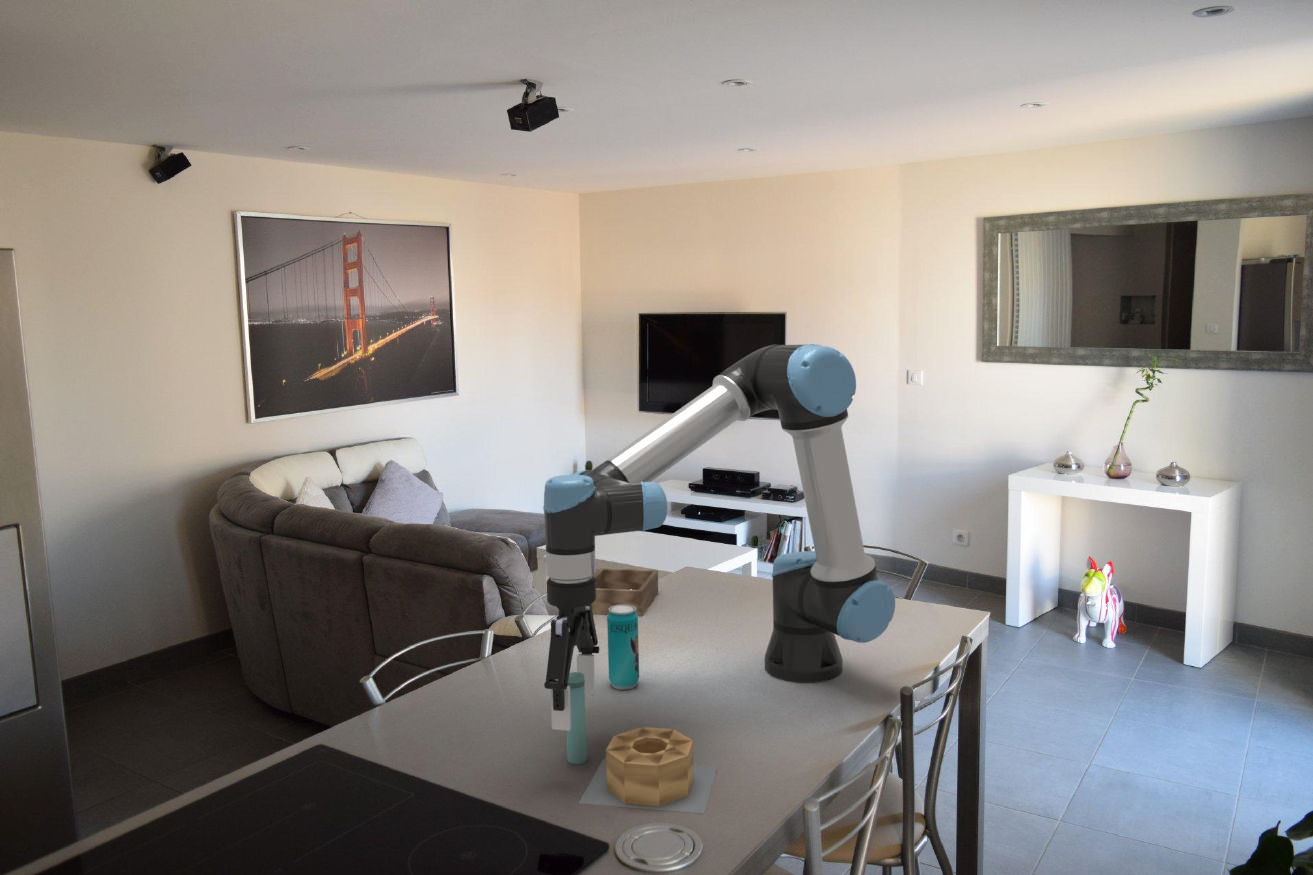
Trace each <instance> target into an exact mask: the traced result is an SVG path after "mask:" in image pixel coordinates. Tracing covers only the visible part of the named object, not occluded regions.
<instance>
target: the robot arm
mask: <svg viewBox="0 0 1313 875" xmlns="http://www.w3.org/2000/svg"><path fill="white" fill-rule="evenodd" d="M855 373H856V372H855V370H854V368H853V366H852V364H851V362H850V360H849V359H848V358H847V357H846V356H845V355H844V354H843V353H842V352H841V351H839V350H837V349H835V348H834V347H830V346H825V345H822V344H813V343H809V344H771V345H768V346H764V347H762V348H759V349H756V350H755V351H753V352H751V353H749V354H748V355H746V356H745V357H743V358H741V359H739V360H738V361H737V362H735V363H733V364H732V365H730V366H729V367H728V368H726V369H725V370H723V371H722V372H720V373H719V374H717V375H716V376H715V377H714V378H713V380H712V386H711V387H709V388H708V389H706V390H705V391H703V392H702V393H701V394H699V395H698V396H696V397H695V398H693V399H692V400H690V401H689V402H688V403H686V404H685V405H683V406H682V407H681V408H679V409H678V410H676V411H675V412H674V413H672V414H671V415H669V416H668V417H667V418H665V419H663V420H662V421H661V422H660V423H658V424H657V425H655V426H653V427H652V428H650V429H649V430H648V431H646V432H645V433H643V434H642V435H641V436H639V437H638V438H636V439H635V440H633V441H632V442H630V443H629V444H628V445H627V446H625V447H623V448H622V449H621V450H620V451H618V452H617V453H615V454H613V456H611V457H610V458H608V459H607V460H605V461H604V462H601V463H600V464H599V465H597V466H596V467H595V468H593V469H592V470H591V469H587V470H580V471H576V472H575V473H573V474H562V475H561V474H560V475H556V476H553V477H550V478H548V479H547V481H546V482H545V484H544V492H543V508H542V510H543V514H544V515H543V516H544V531H545V532H544V533H545V535H544V536H545V554H544V555H543V556H542V559H543V561H544V562H546V564H545V565H546V568H545V570H546V576H547V577H548V579H547V580H546V582H545V583H546V584H545V585H546V601H547V603H548V604H549V605H551V606H552V607H556V608H557V609H558V615H557V616H556V619H551V621H550V640H549V647H548V659H547V667H546V676H545V682H544V686H543V687H544V688H545V689H546V690H550V710H551V712H550V713H551V730H556V731H567V730H568V731H570V729H571V710H570V686H568V679H569V673H571V666H572V661H573V654H574V650H575V649H574V648H575V647H577V650H578V653H577V655H576V672H579V673H582V674H584V679H585V685H584V687H585V696H594V695H595V694H596V684H595V683H596V681H595V678H596V677H595V654H599V653H600V646H598V644H599V641H598V635H597V629H596V624H595V619H594V614H593V613H592V605H591V604H592V603H593V602H594V601H595V600H596V579H595V578H594V577H593V575H595V573H596V572H597V571H596V570H597V569H596V566H597V565H596V564H597V563H596V537H597V536H600V537H601V536H606V535H615V534H624V533H633V532H645V531H647V530H653V529H657V528H661V526H662V525H663V524H664V523H665V521H666V518H667V516H668V500H667V497H666V496H667V495H666V493H665V491H664V489H663V488H662V486H661V485H660V484H659V483H658V482H656V481H654V480H656V479H657V478H658V477H660V476H661V475H663V474H664V473H665V472H666V471H668V470H669V469H671V468H672V467H674V466H675V465H676V464H678V463H679V462H681V461H682V460H683V459H685V458H686V457H687V456H689V455H691V454H692V453H693V452H694V451H696V450H697V449H699V448H701V447H702V446H703V445H704V444H706V443H707V442H709V441H710V440H711V439H713V438H714V437H715V436H717V435H718V434H720V433H721V432H722V431H723V430H725V429H727V428H728V427H729V426H731V425H732V424H733V423H735V422H736V421H739V422H745V421H748V420H749V419H750V418H751V417H752V416H755V414H759V413H761V412H764V411H769V410H770V411H771V410H774V411H775V410H776V411H777V412H778V416H779V421H780V426H781V429H782V430H783V431H784V432H785V433H787V434H789V435H790V436H791V437H792V442H793V446H794V451H795V457H796V462H797V468H798V471H799V476H800V477H799V478H800V481H801V482H800V483H801V486H802V492H803V496H804V497H803V498H804V502H805V508H806V511H807V512H806V513H807V518H808V523H809V527H810V533H811V539H812V543H813V548H814V550H811V551H810V550H807V551H806V550H805V551H794V552H788V553H783V554H780V555H779V556H777V557H776V558H774V560H773V564H772V573H771V577H772V617H773V618H772V623H773V624H772V627H773V629H772V632H771V636H770V638H769V641H768V645H767V647H766V649H765V653H764V654H765V655H764V670H765V671H766V672H767V673H768V674H769V675H771V676H772V677H774V678H777V679H781V680H784V681H789V682H796V683H819V682H825V681H829V680H832V679H835V678H837V677H839V676H840V675H841V674H842V672H843V666H844V665H843V657H842V654H841V650H840V647H839V643H838V640H837V638H836V636H838V637H841V638H842V639H844V640H846V641H853V642H855V643H859V644H861V643H862V644H864V643H869V642H871V641H874V640H876V639H878V638H879V637H880V636H881V635H882V634H883V633H884V632H886V631H887V629H888V626H889V625H890V622H892V621H893V617H894V615H895V610H896V596H895V593H894V591H893V589H892V587H891V586H889V585H888V584H887V582H885V581H883V580H880V579H879V576H878V571H877V565H876V562H875V558H873V557H872V556H870V555H869V554H868V553H866V552H865V549H864V548H865V547H864V543H863V542H864V541H863V536H862V532H861V527H860V525H861V524H860V521H859V516H858V510H857V506H856V505H857V504H856V500H855V494H854V489H853V483H852V482H853V481H852V478H851V473H850V472H851V471H850V466H849V462H848V456H847V451H846V446H845V440H844V434H843V425H844V424H845V422H846V421H847V420H848V418H849V413H848V408H849V407H850V405H852V402H853V400H854V399H853V396H855V395H856V393H857V392H856V391H857V379H856V378H857V377H856V374H855Z"/></svg>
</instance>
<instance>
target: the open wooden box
mask: <svg viewBox="0 0 1313 875" xmlns="http://www.w3.org/2000/svg"><path fill="white" fill-rule="evenodd" d="M593 577H594V578H595V579H596V600H595V601H594V602H593V603H592V604H591V605H592V613H593V615H605V616H608V613H609V608H610V607H612V606H615V605H632V606H634V607H636V613H637V615H638V617H643V616H644V614H645V613H646V612H647V611H648V609H649V608H650V606H651V605H652V603H653V602H654V600H655V599H656V597H657V596H658V594H659V570H658V569H632V568H631V569H630V568H626V569H625V568H600V569H598V570H597V571H596V573H595V575H593ZM602 588H603V589H602ZM630 589H632V590H630Z"/></svg>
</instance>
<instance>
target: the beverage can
mask: <svg viewBox="0 0 1313 875" xmlns="http://www.w3.org/2000/svg"><path fill="white" fill-rule="evenodd" d="M606 620H607V621H606V622H607V628H606V629H607V657H608V658H607V660H608V661H607V662H608V679H609V682H610V683H611V686H612V687H613V689H615V688H616V689H615V690H619V691H625V690H626V691H627V690H628V691H629V690H632V689H634V688H635V687H636V686H637V685H638V681H639V678H640V659H639V658H640V656H639V655H640V654H639V653H640V652H639V651H640V650H639V616H638V615H637V613H636V607H634V606H632V605H615V606H612V607H610V608H609V613H608V615H606Z"/></svg>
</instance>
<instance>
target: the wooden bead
mask: <svg viewBox="0 0 1313 875" xmlns="http://www.w3.org/2000/svg"><path fill="white" fill-rule="evenodd" d="M605 759H606V771H607V790H609V791H610V792H611V793H612V794H614V795H615V796H616V797H617V798H619V799H620V800H621V801H623V802H624V803H626V804H638V805H651V806H661V805H664V804H667V803H670V802H672V801H675V800H678V799H681V798H684V797H686V796H688V795H689V792H690V789H691V786H692V783H693V780H694V766H693V765H694V740H693V739H691V738H689V737H688V736H685V735H684V734H682V733H681V732H679V731H678V730H676V729H674V728H664V727H663V728H660V727H649V726H648V727H647V726H641V727H638V728H634V729H631V730H627V731H625V732H621V733H618V734H614V735H613V737H612V738H611V740H610V742H609V744H608V746H607V747H606V749H605Z"/></svg>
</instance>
